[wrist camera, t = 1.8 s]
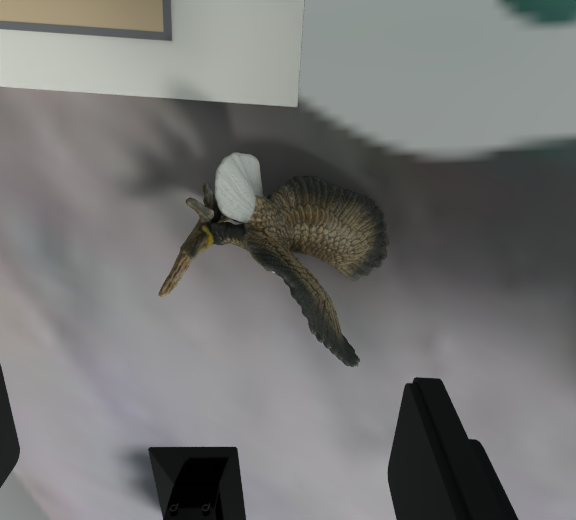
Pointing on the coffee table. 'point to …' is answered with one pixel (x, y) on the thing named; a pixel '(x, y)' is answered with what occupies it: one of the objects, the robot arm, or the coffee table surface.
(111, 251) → the coffee table surface
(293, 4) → the board
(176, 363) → the coffee table surface
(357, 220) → the eagle figurine
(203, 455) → the black block on base
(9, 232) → the coffee table surface
